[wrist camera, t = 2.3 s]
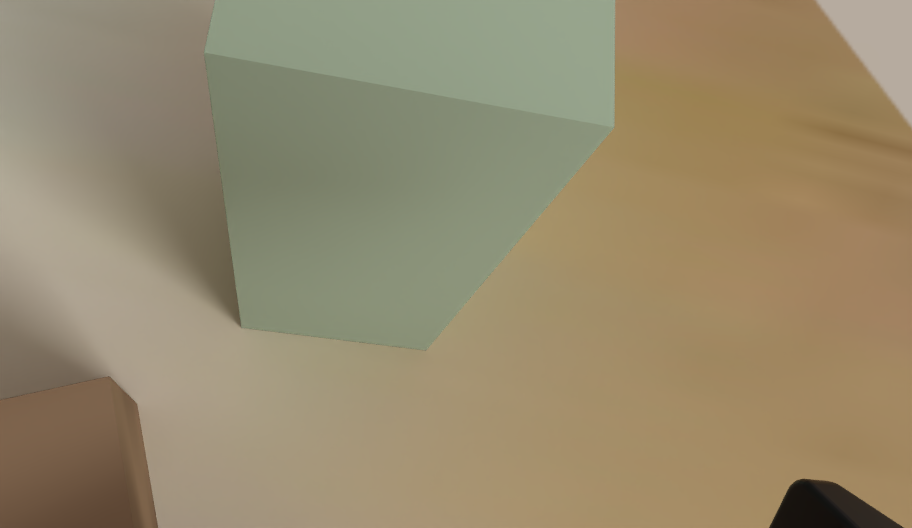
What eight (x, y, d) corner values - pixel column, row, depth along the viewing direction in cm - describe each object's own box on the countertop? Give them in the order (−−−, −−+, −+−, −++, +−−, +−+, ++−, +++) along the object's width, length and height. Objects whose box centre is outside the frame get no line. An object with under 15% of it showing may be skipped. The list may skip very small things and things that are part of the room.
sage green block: (426, 350, 22) (614, 127, 10) (241, 327, 21) (204, 53, 9) (440, 186, 24) (615, -173, 12) (270, 159, 23) (270, -260, 11)
